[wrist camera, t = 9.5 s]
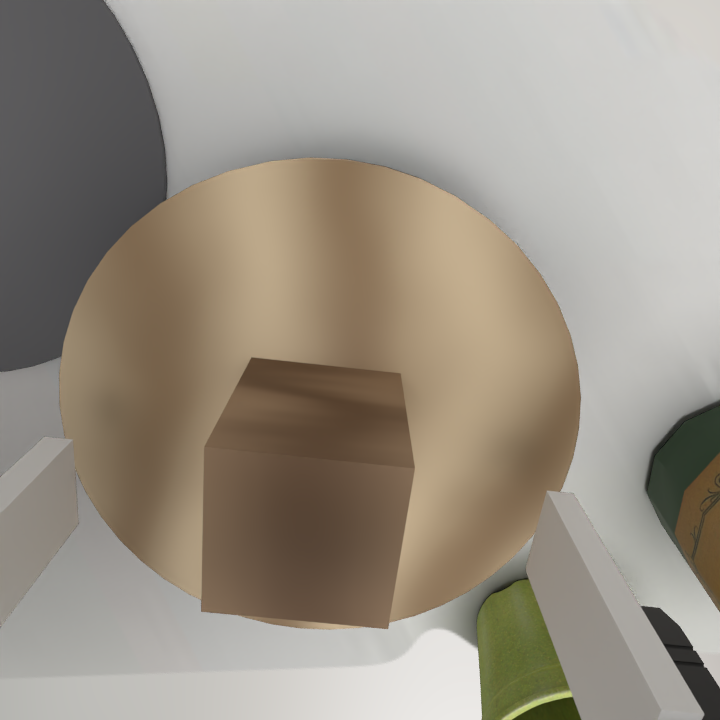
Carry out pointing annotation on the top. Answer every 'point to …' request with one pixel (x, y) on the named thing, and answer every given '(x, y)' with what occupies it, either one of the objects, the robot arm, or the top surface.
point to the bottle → (692, 496)
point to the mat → (66, 163)
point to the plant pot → (520, 660)
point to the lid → (319, 393)
